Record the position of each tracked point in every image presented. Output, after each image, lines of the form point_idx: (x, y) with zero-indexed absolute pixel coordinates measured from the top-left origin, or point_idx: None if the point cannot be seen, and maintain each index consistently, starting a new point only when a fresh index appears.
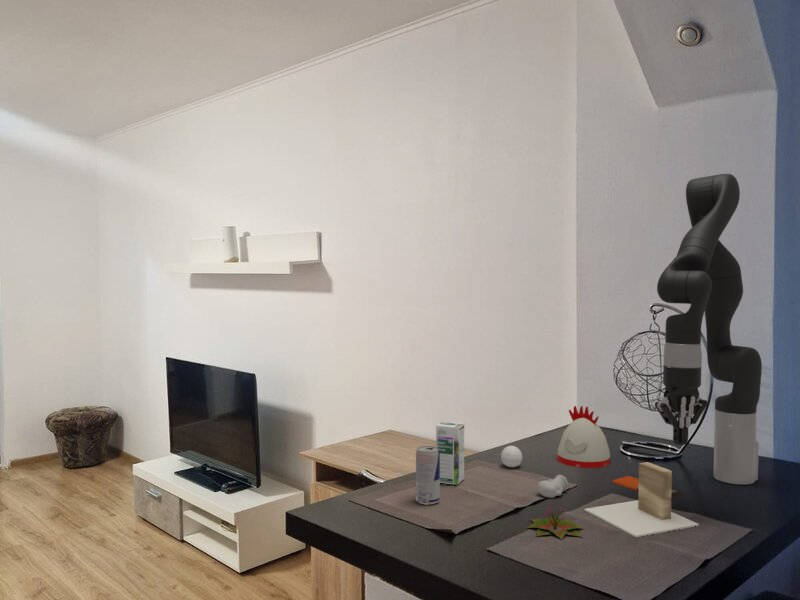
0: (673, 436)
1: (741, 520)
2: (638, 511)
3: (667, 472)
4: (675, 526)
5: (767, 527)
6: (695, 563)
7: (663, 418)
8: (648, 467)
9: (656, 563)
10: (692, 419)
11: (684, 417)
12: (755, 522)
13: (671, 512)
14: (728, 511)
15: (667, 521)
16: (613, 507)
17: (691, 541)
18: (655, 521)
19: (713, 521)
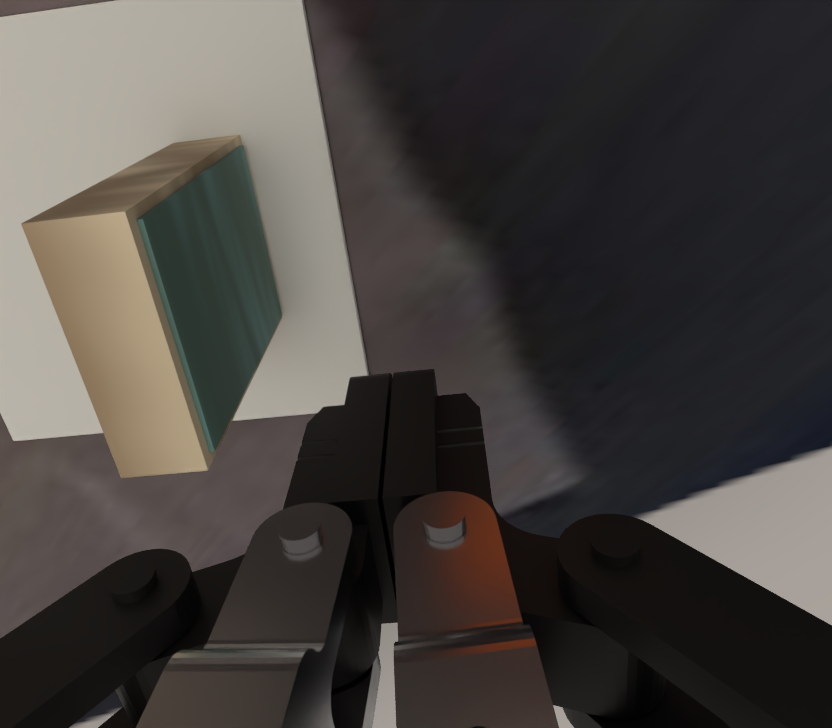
0: (301, 452)
1: (627, 397)
2: None
3: (169, 468)
4: (245, 403)
5: (662, 485)
6: None
7: (1, 660)
8: (69, 339)
9: (13, 610)
10: (580, 723)
11: (578, 578)
12: (667, 431)
13: (337, 245)
14: (677, 284)
15: None
16: (26, 73)
17: (237, 513)
18: None
19: (486, 374)
